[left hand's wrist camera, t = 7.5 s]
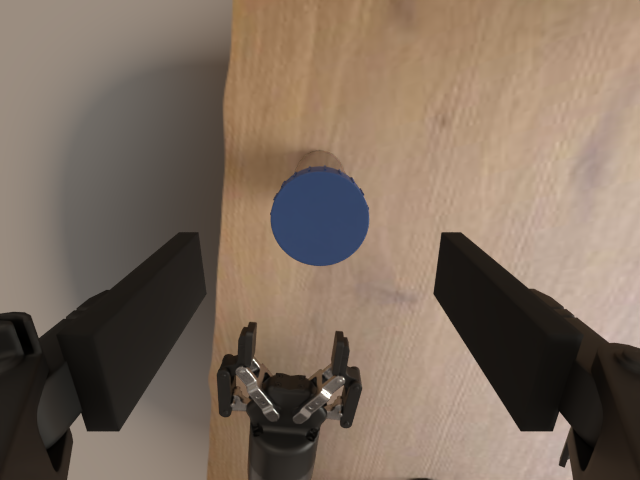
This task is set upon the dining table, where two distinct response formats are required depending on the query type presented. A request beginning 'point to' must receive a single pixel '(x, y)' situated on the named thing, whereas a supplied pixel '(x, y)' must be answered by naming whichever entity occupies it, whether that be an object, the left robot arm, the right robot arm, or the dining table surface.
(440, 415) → the dining table surface
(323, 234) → the lid
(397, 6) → the dining table surface
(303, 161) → the jar
